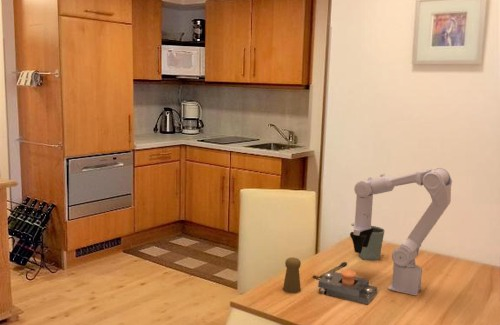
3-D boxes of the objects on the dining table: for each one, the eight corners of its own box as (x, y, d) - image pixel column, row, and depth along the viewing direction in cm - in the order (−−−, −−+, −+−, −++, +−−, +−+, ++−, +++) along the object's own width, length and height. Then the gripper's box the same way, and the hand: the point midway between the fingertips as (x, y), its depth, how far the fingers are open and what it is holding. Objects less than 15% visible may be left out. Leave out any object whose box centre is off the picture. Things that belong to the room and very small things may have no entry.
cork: (289, 284, 176) (290, 254, 174) (304, 289, 172) (305, 258, 170) (279, 289, 171) (280, 258, 169) (294, 294, 167) (295, 263, 166)
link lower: (377, 292, 171) (377, 284, 170) (367, 304, 161) (368, 295, 161) (337, 283, 178) (338, 275, 177) (326, 294, 168) (326, 286, 168)
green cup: (352, 253, 209) (354, 226, 207) (373, 252, 212) (375, 224, 210) (365, 262, 199) (367, 233, 197) (387, 260, 202) (389, 231, 201)
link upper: (368, 290, 172) (369, 276, 172) (358, 302, 163) (359, 287, 162) (329, 281, 179) (330, 268, 178) (317, 292, 170) (318, 278, 169)
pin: (357, 291, 171) (358, 272, 170) (352, 296, 167) (353, 276, 166) (343, 288, 174) (344, 269, 173) (337, 293, 170) (338, 273, 168)
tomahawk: (326, 285, 178) (327, 283, 178) (311, 279, 183) (312, 276, 182) (357, 269, 194) (358, 266, 193) (342, 263, 198) (343, 260, 198)
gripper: (358, 207, 189) (356, 242, 191) (346, 215, 176) (343, 253, 179) (377, 210, 185) (375, 245, 188) (365, 219, 173) (363, 256, 175)
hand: (361, 249), depth 183 cm, fingers open, 7 cm apart
